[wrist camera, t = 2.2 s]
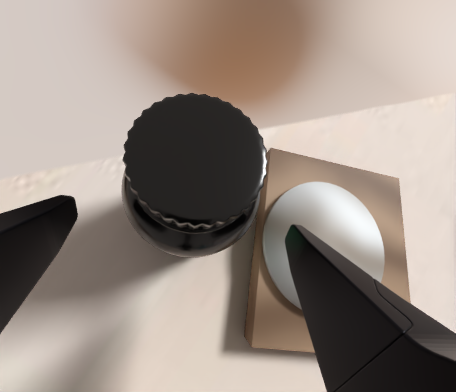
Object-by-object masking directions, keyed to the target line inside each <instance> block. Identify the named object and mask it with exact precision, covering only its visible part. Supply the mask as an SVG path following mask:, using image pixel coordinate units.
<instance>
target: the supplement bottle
mask: <svg viewBox="0 0 456 392" xmlns="http://www.w3.org/2000/svg"><path fill="white" fill-rule="evenodd" d="M124 149H125V154H124V157H123V162H124V164H125V166H126V168H125V171H124V175H123V180H122V201H123V205H124V209H125V212H126V215H127V217H128V219H129V221H130V223H131V224H132V226H133V227H134V229H135V230H136V231H137V233H138V234H139V235H140V236H141V237H142V238H143V239H145V240H146V241H147V242H148V243H149V244H151V245H152V246H154V247H155V248H157V249H159V250H161V251H163V252H166V253H168V254H172V255H175V256H180V257H203V256H208V255H212V254H215V253H218V252H220V251H222V250H224V249H226V248H228V247H230V246H231V245H232V244H234V243H235V242H237V241H238V240H239V239H240V238H241V237H242V236H243V235H244V234H245V233H246V231H247V230H248V229H249V227H250V226H251V224H252V222H253V220H254V218H255V216H256V213H257V210H258V206H259V201H260V190H261V189H262V188H263V186H264V179H265V177H266V176H267V171H266V167H267V164H268V161H267V158H266V152H267V150H266V148H265V146H264V145H263V138H262V136H261V135H260V134H259V132H258V128H257V127H256V126H255V125H253V124H252V122H251V120H250V118H249V117H247V116H245V115H244V114H243V113H242V111H241V110H240V109H238V108H235V107H233V106H232V105H231V104H230V103H229V102H224V101H222V100H221V99H219V98H217V97H210V96H208V95H206V94H202V95H197V94H194V93H190V94H187V95H183V94H178V95H176V96H174V97H166V98H164V99H163V100H162V101H160V102H155V103H154V104H153V105H152V106H151V107H150V108H149V109H146V110H143V112H142V115H141V116H140V117H139V118H137V119H136V120H134V125H133V127H132V128H131V129H130V130H129V131H128V139H127V141H126V142H125V144H124Z"/></svg>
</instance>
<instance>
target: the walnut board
mask: <svg viewBox="0 0 456 392" xmlns="http://www.w3.org/2000/svg"><path fill="white" fill-rule="evenodd" d="M266 158H267V161H268V164H267V167H266V171H267V176H266V177H265V179H264V186H263V188H262V189H261V190H260V201H259V206H258V211H257V220H256V229H255V239H254V248H253V258H252V267H251V277H250V286H249V296H248V305H247V314H246V324H245V333H244V337H245V338H246V340H247V341H248V343H249V344H250V345H251V347H253V348H265V349H278V350H290V351H302V352H314V353H315V351H314V348H313V344H312V341H311V338H310V335H309V331H308V328H307V325H306V321H305V318H304V315H303V312H302V308H301V305H300V302H299V299H298V295H297V292H296V289H295V286H294V282H293V279H292V276H291V272H290V267H289V262H288V257H287V252H286V246H285V237H286V235H287V232H288V230H289V228H290V226H291V225H292V224H297V225H302V226H303V227H304V228H306V229H307V230H309V231H310V232H311V233H313V234H314V235H315V236H317V237H318V238H320V239H321V240H322V241H324V242H325V243H326V244H328V245H329V246H331V247H332V248H333V249H335V250H336V251H337V252H339V253H340V254H342V255H343V256H344V257H346V258H347V259H348V260H350V261H351V262H353V263H354V264H355V265H357V266H358V267H359V268H361V269H362V270H364V271H365V272H366V273H368V274H369V275H370V276H372V277H373V278H375V279H376V280H377V281H379V282H380V283H382V284H383V285H384V286H386V287H387V288H389V289H390V290H391V291H393V292H394V293H396V294H397V295H398V296H400V297H401V298H403V299H404V300H406V301H407V302H409V303H410V292H409V282H408V271H407V260H406V250H405V239H404V228H403V218H402V207H401V196H400V185H399V178H395V177H391V176H387V175H382V174H378V173H374V172H370V171H366V170H361V169H357V168H353V167H349V166H345V165H340V164H336V163H332V162H328V161H324V160H320V159H315V158H311V157H307V156H303V155H299V154H294V153H290V152H286V151H282V150H278V149H273V148H270V150H269V151H268V152H267V153H266ZM410 304H411V303H410Z"/></svg>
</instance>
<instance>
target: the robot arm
mask: <svg viewBox="0 0 456 392" xmlns="http://www.w3.org/2000/svg"><path fill="white" fill-rule="evenodd" d="M77 217H78V213H77V207H76V202H75V199H74V197H72V196H66V195H59V196H56V197H52V198H49V199H46V200H43V201H40V202H36V203H33V204H30V205H27V206H24V207H20V208H17V209H14V210H11V211H7V212H4V213H1V214H0V333H1V332H2V331H3V329H4V328H5V326H6V325H7V324H8V322H9V321H10V320H11V318H12V317H13V315H14V314H15V313H16V311H17V310H18V308H19V307H20V306H21V304H22V303H23V301H24V300H25V299H26V297H27V296H28V294H29V293H30V292H31V290H32V289H33V287H34V286H35V285H36V283H37V282H38V280H39V279H40V278H41V276H42V275H43V273H44V272H45V271H46V269H47V268H48V266H49V265H50V264H51V262H52V261H53V259H54V258H55V257H56V255H57V254H58V252H59V250H60V249H61V247H62V245H63V243H64V242H65V240H66V238H67V236H68V234H69V233H70V231H71V229H72V227H73V225H74V224H75V222H76V220H77ZM285 246H286V252H287V257H288V262H289V267H290V272H291V276H292V279H293V282H294V286H295V289H296V292H297V295H298V299H299V302H300V305H301V308H302V312H303V315H304V318H305V321H306V325H307V328H308V331H309V335H310V338H311V341H312V344H313V348H314V351H315V354H316V357H317V361H318V364H319V367H320V370H321V374H322V377H323V380H324V383H325V387H326V390H327V392H456V333H454V332H453V331H451V330H449V329H448V328H446V327H445V326H443V325H442V324H440V323H439V322H437V321H436V320H434V319H433V318H431V317H430V316H428V315H427V314H425V313H424V312H422V311H421V310H419V309H418V308H416V307H415V306H413V305H412V304H410V303H409V302H407V301H406V300H404V299H403V298H401V297H400V296H398V295H397V294H396V293H394V292H393V291H391V290H390V289H389V288H387V287H386V286H384V285H383V284H382V283H380V282H379V281H377V280H376V279H375V278H373V277H372V276H370V275H369V274H368V273H366V272H365V271H364V270H362V269H361V268H359V267H358V266H357V265H355V264H354V263H353V262H351V261H350V260H348V259H347V258H346V257H344V256H343V255H342V254H340V253H339V252H337V251H336V250H335V249H333V248H332V247H331V246H329V245H328V244H326V243H325V242H324V241H322V240H321V239H320V238H318V237H317V236H315V235H314V234H313V233H311V232H310V231H309V230H307V229H306V228H304V227H303V226H302V225H297V224H292V225H291V226H290V228H289V230H288V232H287V235H286V237H285Z"/></svg>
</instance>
